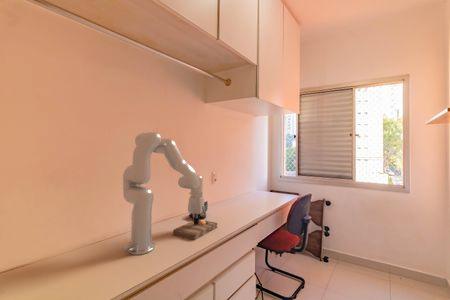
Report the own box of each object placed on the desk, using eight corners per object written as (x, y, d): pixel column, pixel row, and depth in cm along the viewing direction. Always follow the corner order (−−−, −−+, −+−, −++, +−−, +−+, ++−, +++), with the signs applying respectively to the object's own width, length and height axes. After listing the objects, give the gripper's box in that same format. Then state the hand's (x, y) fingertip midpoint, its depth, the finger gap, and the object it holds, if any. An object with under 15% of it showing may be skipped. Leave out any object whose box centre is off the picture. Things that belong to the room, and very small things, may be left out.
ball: (207, 220, 146) (202, 223, 142) (206, 227, 147) (201, 230, 143) (201, 217, 149) (196, 220, 144) (200, 224, 150) (195, 227, 145)
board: (194, 240, 125) (194, 234, 125) (173, 234, 133) (173, 229, 133) (217, 227, 146) (217, 222, 146) (197, 223, 154) (197, 219, 154)
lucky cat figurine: (186, 216, 171) (192, 198, 177) (200, 220, 175) (205, 203, 181) (192, 215, 158) (198, 196, 164) (207, 220, 162) (213, 201, 168)
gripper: (183, 194, 143) (183, 223, 143) (202, 197, 135) (202, 227, 135) (191, 192, 149) (190, 220, 149) (209, 195, 142) (209, 224, 142)
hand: (196, 223), depth 142 cm, fingers closed
